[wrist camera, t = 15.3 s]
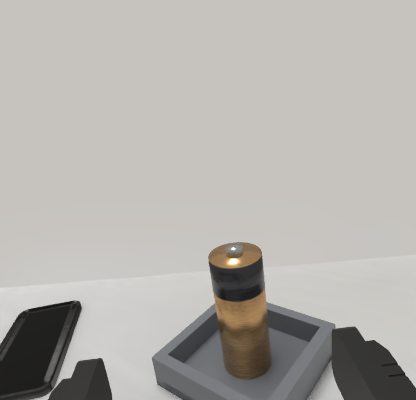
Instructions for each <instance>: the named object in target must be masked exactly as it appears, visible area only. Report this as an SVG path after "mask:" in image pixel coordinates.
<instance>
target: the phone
mask: <svg viewBox="0 0 416 400" xmlns="http://www.w3.org/2000/svg"><path fill="white" fill-rule="evenodd" d="M81 308H82V307H81V304H80V302H79V301H69V302H64V303H59V304H53V305H48V306H43V307H37V308H32V309H28V310H25V311H23V312H22V313H20V314H19V315H18V317H17V318H16V320H15V322H14V323H13V325H12V327H11V328H10V330H9V331H8V333H7V335H6V336H5V338H4V340H3V341H2V343H1V344H0V400H9V399H10V400H29V399H34V398H39V397H42V396H44V395H46V394H48V393H49V392H50V391H51V390H52V389H53V388H54V386H55V384H56V381H57V378H58V375H59V372H60V369H61V366H62V364H63V361H64V358H65V355H66V352H67V349H68V346H69V343H70V341H71V338H72V335H73V332H74V329H75V326H76V323H77V320H78V318H79V315H80V312H81Z"/></svg>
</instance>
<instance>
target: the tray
mask: <svg viewBox="0 0 416 400" xmlns="http://www.w3.org/2000/svg"><path fill="white" fill-rule="evenodd" d="M266 306H267V316H268V327H269V337H270V348H271V358H272V364H271V367H270V369H269V370H268V371H267V372H266V373H265V374H264V375H262V376H260V377H258V378H255V379H247V380H246V379H239V378H236V377H234V376H232V375H231V374H229V373H228V372H227V370H226V369H225V366H224V360H223V353H222V346H221V339H220V333H219V326H218V319H217V312H216V305H215V304H214V305H212V306H211V307H210V308H209V309H208V310H207V311H205V312H204V313H203V314H202V315H201V316H200V317H198V318H197V319H196V320H195V321H194V322H193V323H191V324H190V325H189V326H188V327H187V328H186V329H184V330H183V331H182V332H181V333H180V334H179V335H177V336H176V337H175V338H174V339H173V340H172V341H170V342H169V343H168V344H167V345H166V346H165V347H163V348H162V349H161V350H160V351H159V352H158V353H156V354H155V355H154V356H153V357H152V361H153V365H154V370H155V374H156V379H157V383H158V384H159V385H160V386H162V387H164V388H165V389H167V390H168V391H170V392H172V393H173V394H175V395H177V396H178V397H180V398H181V399H183V400H306V399H307V397H308V396H309V394H310V393H311V391H312V389H313V388H314V386H315V384H316V383H317V381H318V379H319V378H320V376H321V374H322V373H323V371H324V369H325V368H326V366H327V365H328V363H329V361H330V360H331V358H332V330H333V329H335V324H333V323H330V322H327V321H324V320H320V319H317V318H314V317H311V316H308V315H305V314H302V313H298V312H295V311H292V310H289V309H286V308H283V307H280V306H277V305H273V304H270V303H267V302H266Z"/></svg>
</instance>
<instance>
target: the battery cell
mask: <svg viewBox="0 0 416 400" xmlns="http://www.w3.org/2000/svg"><path fill="white" fill-rule="evenodd" d="M209 266H210V273H211V280H212V286H213V292H214V298H215V305H216V312H217V319H218V326H219V333H220V339H221V346H222V353H223V360H224V366H225V369H226V370H227V372H228V373H229V374H231V375H232V376H234V377H236V378H239V379H246V380H247V379H255V378H258V377H260V376H262V375H264V374H265V373H266V372H267V371H268V370H269V369H270V367H271V364H272V358H271V348H270V337H269V327H268V316H267V306H266V295H265V282H264V272H263V262H262V252H261V249H260V248H259V247H257V246H256V245H253V244H250V243H241V242H240V243H239V242H237V243H229V244H225V245H222V246H219V247H217V248H215V249H214V250H212V251H211V252H210V254H209Z"/></svg>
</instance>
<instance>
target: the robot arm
mask: <svg viewBox="0 0 416 400" xmlns="http://www.w3.org/2000/svg"><path fill="white" fill-rule="evenodd" d="M332 369H333V374H334V378H335V381H336V383H337V386H338V388H339V390H340V392H341V394H342V396H343V398H344V400H416V388H415V386H414V385H413V384H412V382H411V381H410V380H409V378H408V377H407V376H406V375H405V373H404V371H403V370H402V369H401V367H400V366H398V364H397V362H396V360H395V359H394V358H393V356H392V355H391V353H390V352H389V351H388V350H387V349H386V348H384V347H383V346H382V345H380V344H379V343H377V342H376V341H375V340H372V341H365V340H364V338H363V337H362V335H361V334H360V332H359V331H358V329H357V328H356V327H346V328H338V329H333V330H332ZM48 400H112V393H111V389H110V385H109V381H108V377H107V373H106V370H105V366H104V362H103V360H102V359H101V358H98V359H90V360H83V361H79V362H78V363H77V365H76V367H75V370H74V372H73V375H72V377H71V378H69V379H63V380H62V381H61V382H60V383H59V384H58V386H57V387H56V388H55V389H54V390H53V391H52V392H51V394H50V397H49V399H48Z"/></svg>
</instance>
